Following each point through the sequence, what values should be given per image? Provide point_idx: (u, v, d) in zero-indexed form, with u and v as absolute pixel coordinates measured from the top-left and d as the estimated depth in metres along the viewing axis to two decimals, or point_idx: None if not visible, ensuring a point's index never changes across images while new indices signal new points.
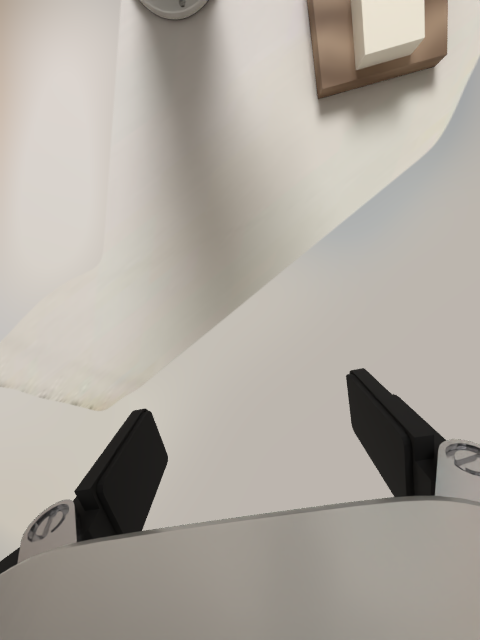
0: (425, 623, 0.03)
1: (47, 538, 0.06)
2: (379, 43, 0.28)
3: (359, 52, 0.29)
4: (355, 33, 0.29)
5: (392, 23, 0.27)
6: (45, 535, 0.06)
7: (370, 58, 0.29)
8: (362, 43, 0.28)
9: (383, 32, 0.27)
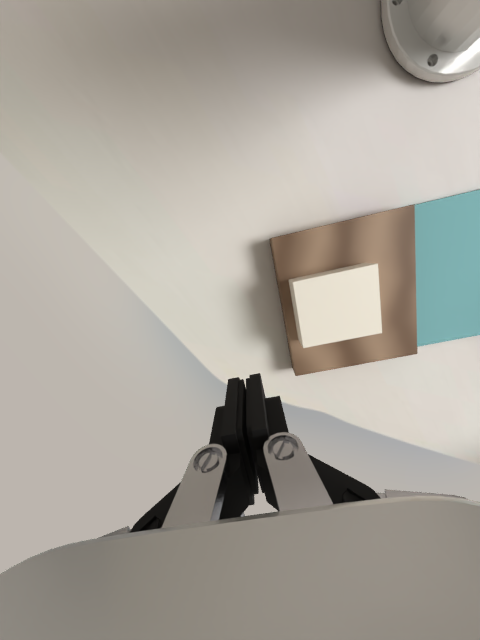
0: (425, 623, 0.03)
1: (202, 475, 0.07)
2: (302, 298, 0.23)
3: (301, 278, 0.23)
4: (323, 272, 0.24)
5: (320, 310, 0.23)
6: (203, 468, 0.07)
7: (292, 292, 0.23)
8: (305, 278, 0.22)
9: (312, 301, 0.23)
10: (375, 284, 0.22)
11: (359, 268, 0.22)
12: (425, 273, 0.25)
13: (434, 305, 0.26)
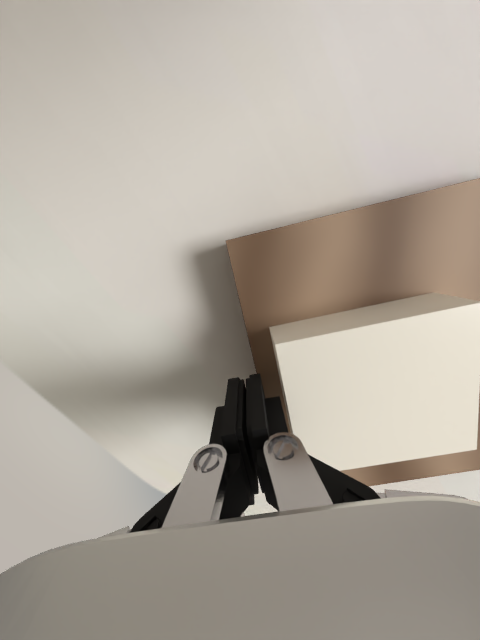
0: (425, 623, 0.03)
1: (202, 475, 0.07)
2: (299, 380, 0.10)
3: (295, 329, 0.10)
4: (343, 315, 0.11)
5: (339, 404, 0.10)
6: (203, 468, 0.07)
7: (277, 359, 0.11)
8: (305, 335, 0.10)
9: (321, 385, 0.10)
10: (471, 349, 0.09)
11: (436, 313, 0.09)
12: None
13: None
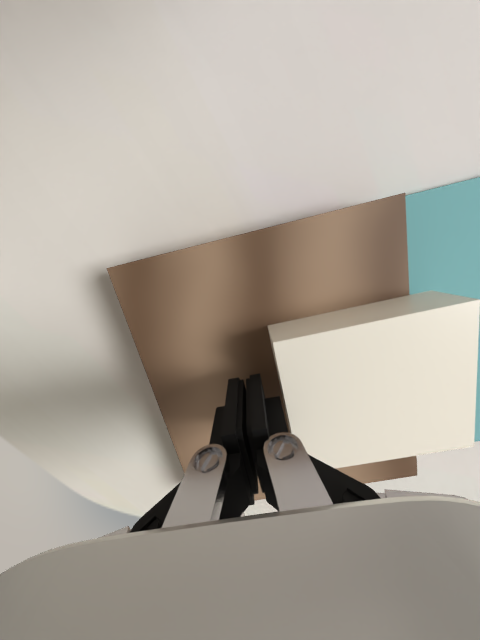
0: (425, 623, 0.03)
1: (202, 475, 0.07)
2: (297, 378, 0.10)
3: (293, 328, 0.10)
4: (340, 313, 0.11)
5: (337, 402, 0.10)
6: (203, 468, 0.07)
7: (275, 357, 0.11)
8: (303, 333, 0.10)
9: (319, 383, 0.10)
10: (468, 346, 0.09)
11: (433, 310, 0.09)
12: None
13: None
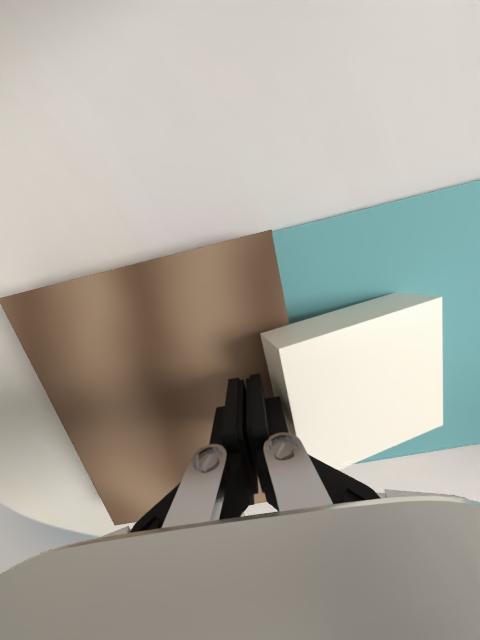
0: (425, 623, 0.03)
1: (202, 475, 0.07)
2: (301, 383, 0.10)
3: (290, 333, 0.10)
4: (329, 316, 0.11)
5: (338, 402, 0.10)
6: (203, 468, 0.07)
7: (275, 365, 0.10)
8: (304, 337, 0.10)
9: (322, 385, 0.10)
10: (436, 337, 0.11)
11: (410, 308, 0.10)
12: None
13: None
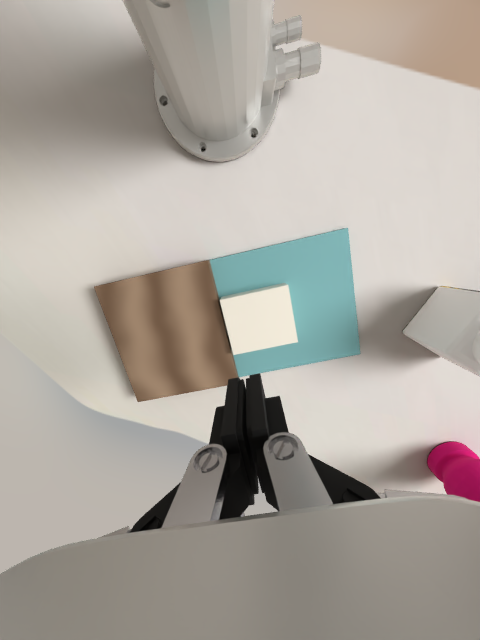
0: (425, 623, 0.03)
1: (202, 475, 0.07)
2: (229, 313, 0.27)
3: (229, 296, 0.28)
4: (249, 291, 0.28)
5: (244, 323, 0.27)
6: (203, 468, 0.07)
7: None
8: (230, 297, 0.27)
9: (237, 315, 0.27)
10: (287, 301, 0.26)
11: (273, 288, 0.26)
12: None
13: None
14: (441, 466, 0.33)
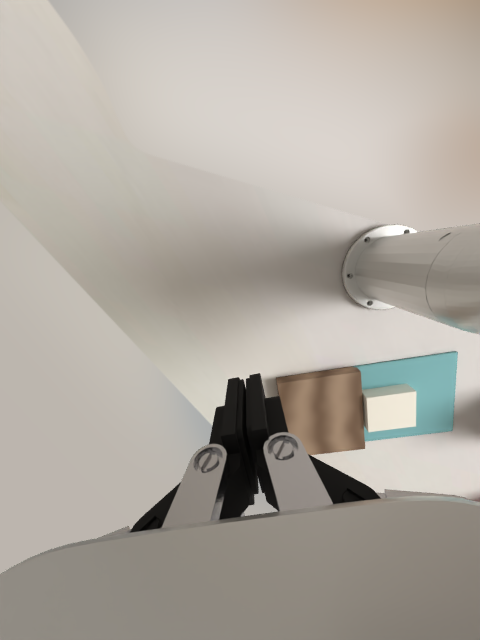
0: (425, 623, 0.03)
1: (202, 475, 0.07)
2: (371, 406, 0.39)
3: (369, 393, 0.40)
4: (382, 388, 0.40)
5: (380, 413, 0.39)
6: (203, 468, 0.07)
7: (364, 400, 0.40)
8: (373, 396, 0.39)
9: (376, 408, 0.39)
10: (413, 401, 0.39)
11: (405, 393, 0.38)
12: None
13: None
14: None
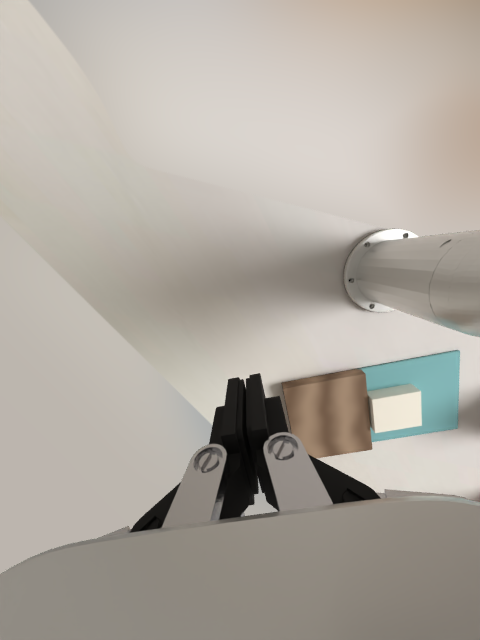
0: (425, 623, 0.03)
1: (202, 475, 0.07)
2: (377, 408, 0.40)
3: (374, 394, 0.40)
4: (386, 389, 0.41)
5: (386, 414, 0.40)
6: (203, 468, 0.07)
7: (370, 402, 0.40)
8: (379, 397, 0.39)
9: (382, 409, 0.40)
10: (418, 401, 0.39)
11: (410, 393, 0.39)
12: None
13: None
14: None
